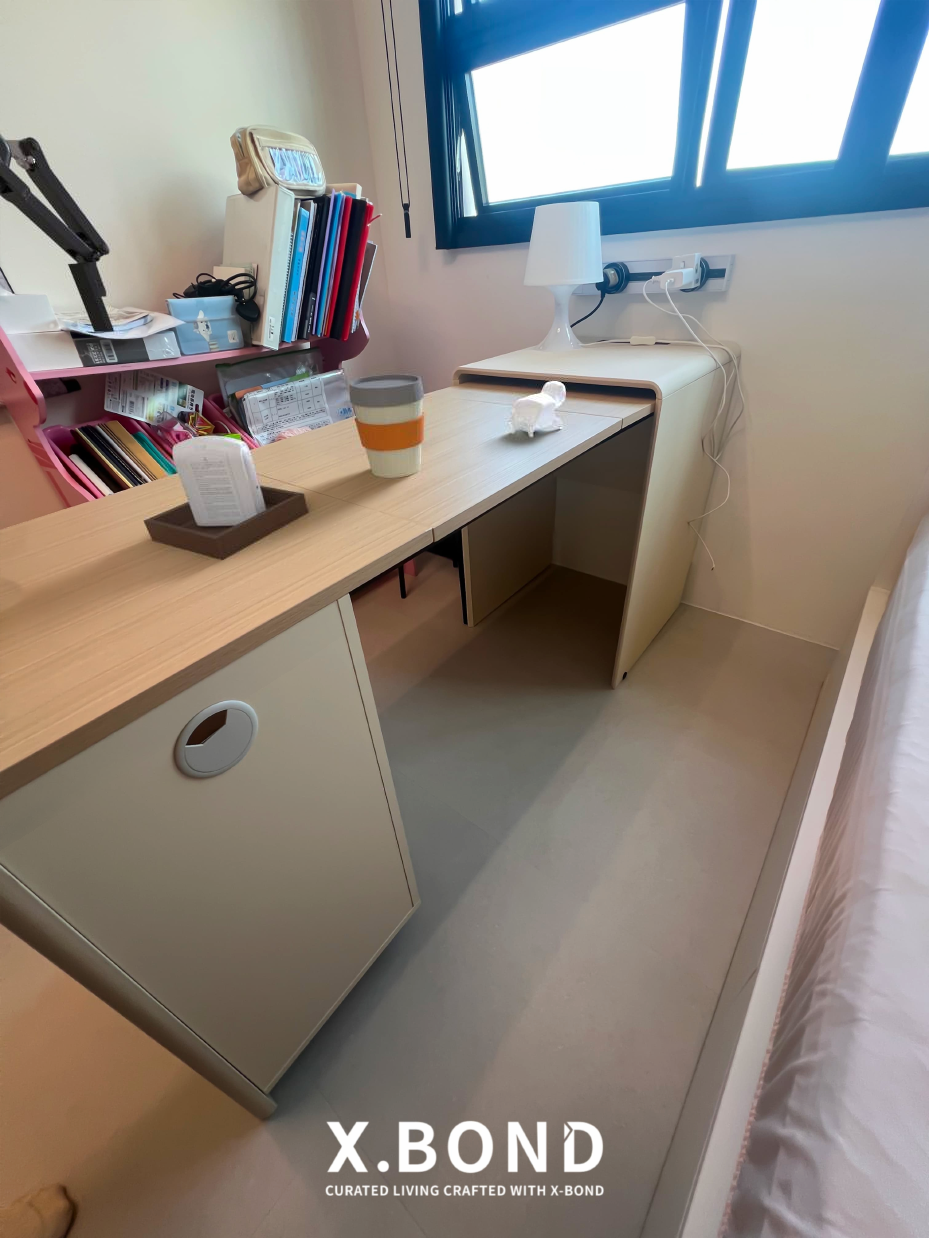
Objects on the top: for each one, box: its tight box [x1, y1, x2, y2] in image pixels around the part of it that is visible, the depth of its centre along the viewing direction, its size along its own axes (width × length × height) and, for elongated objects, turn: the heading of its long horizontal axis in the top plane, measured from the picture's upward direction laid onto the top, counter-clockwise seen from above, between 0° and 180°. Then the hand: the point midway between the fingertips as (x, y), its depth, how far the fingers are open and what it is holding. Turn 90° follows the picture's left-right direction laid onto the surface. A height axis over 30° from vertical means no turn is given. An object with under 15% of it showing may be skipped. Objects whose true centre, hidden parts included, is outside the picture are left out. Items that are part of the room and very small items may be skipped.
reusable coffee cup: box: [348, 373, 425, 479], centre depth 89 cm, size 12×13×15 cm
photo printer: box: [171, 435, 266, 526], centre depth 71 cm, size 10×4×12 cm, turn 90°
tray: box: [143, 485, 309, 561], centre depth 74 cm, size 17×15×3 cm
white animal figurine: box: [507, 380, 567, 438], centre depth 109 cm, size 9×8×15 cm
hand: (41, 338), depth 54 cm, fingers open, 13 cm apart
